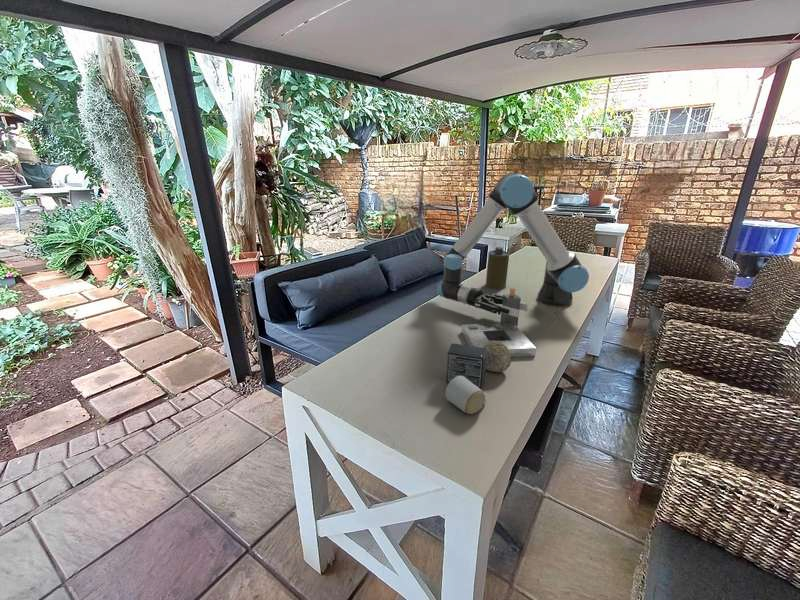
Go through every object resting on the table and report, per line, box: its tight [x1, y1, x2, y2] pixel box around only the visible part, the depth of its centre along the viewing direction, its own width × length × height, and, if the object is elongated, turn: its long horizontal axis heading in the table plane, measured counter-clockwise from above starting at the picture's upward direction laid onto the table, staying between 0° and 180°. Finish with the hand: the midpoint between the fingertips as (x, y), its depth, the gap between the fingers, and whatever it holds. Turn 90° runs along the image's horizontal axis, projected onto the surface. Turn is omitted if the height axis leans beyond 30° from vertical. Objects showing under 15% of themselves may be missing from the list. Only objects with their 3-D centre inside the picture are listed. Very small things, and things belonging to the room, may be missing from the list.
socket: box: [461, 322, 537, 358], centre depth 131 cm, size 20×20×4 cm
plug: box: [499, 287, 522, 327], centre depth 142 cm, size 5×5×15 cm
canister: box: [485, 246, 511, 290], centre depth 186 cm, size 11×10×20 cm
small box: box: [445, 343, 487, 390], centre depth 107 cm, size 11×6×10 cm, turn 71°
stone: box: [483, 341, 512, 373], centre depth 113 cm, size 6×10×10 cm, turn 51°
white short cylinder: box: [444, 376, 488, 415], centre depth 97 cm, size 11×8×8 cm
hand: (522, 310), depth 139 cm, fingers closed on plug, 7 cm apart
